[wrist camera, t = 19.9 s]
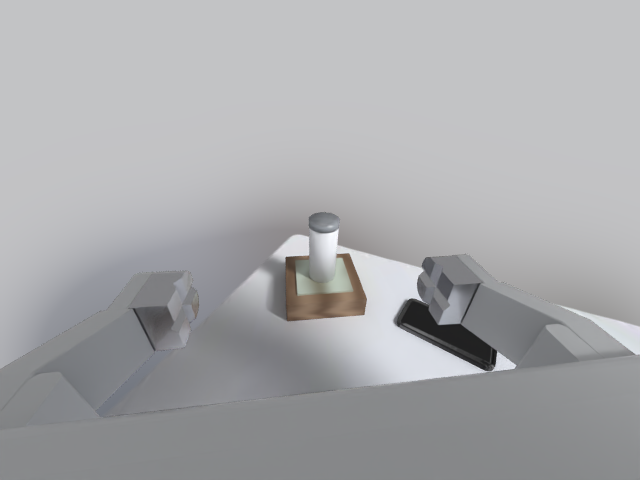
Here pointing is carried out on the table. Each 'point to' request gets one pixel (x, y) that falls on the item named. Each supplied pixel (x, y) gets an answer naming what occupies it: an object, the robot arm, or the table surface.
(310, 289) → the walnut base
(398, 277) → the table surface
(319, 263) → the canister
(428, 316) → the phone
